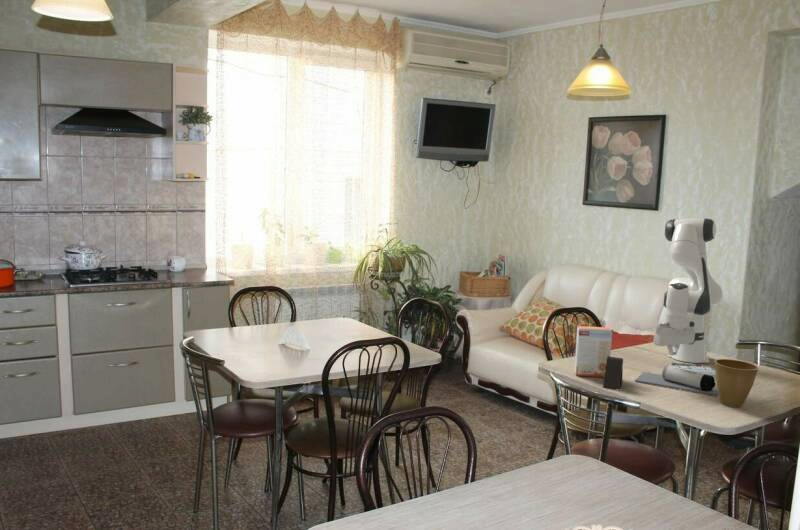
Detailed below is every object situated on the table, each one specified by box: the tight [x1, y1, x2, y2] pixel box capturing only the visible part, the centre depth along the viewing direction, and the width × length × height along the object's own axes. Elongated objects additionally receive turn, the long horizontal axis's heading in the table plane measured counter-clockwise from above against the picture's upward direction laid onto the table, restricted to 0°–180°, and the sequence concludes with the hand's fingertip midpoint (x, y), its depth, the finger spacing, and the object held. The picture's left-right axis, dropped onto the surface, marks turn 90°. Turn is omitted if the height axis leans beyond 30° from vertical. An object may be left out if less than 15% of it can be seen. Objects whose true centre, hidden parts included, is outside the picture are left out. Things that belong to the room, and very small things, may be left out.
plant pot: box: [714, 358, 759, 408], centre depth 268 cm, size 15×15×16 cm
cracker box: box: [573, 325, 613, 378], centre depth 301 cm, size 14×6×21 cm, turn 84°
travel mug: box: [661, 364, 717, 391], centre depth 290 cm, size 6×7×20 cm
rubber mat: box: [635, 371, 719, 397], centre depth 294 cm, size 16×32×1 cm, turn 59°
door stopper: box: [602, 355, 624, 390], centre depth 286 cm, size 9×6×12 cm, turn 152°
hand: (672, 354), depth 294 cm, fingers closed
